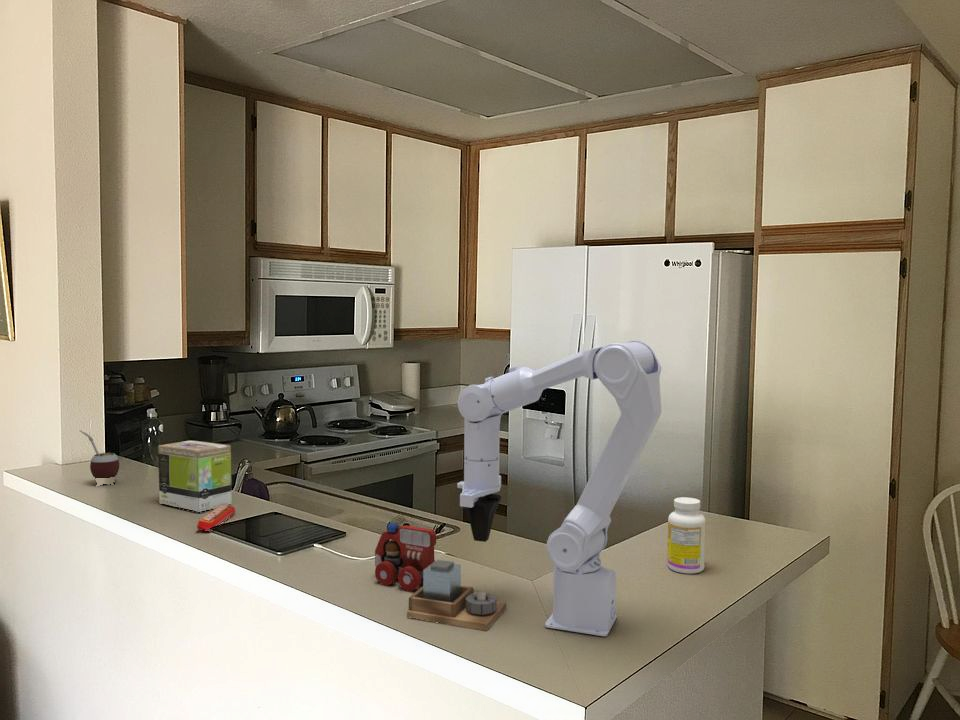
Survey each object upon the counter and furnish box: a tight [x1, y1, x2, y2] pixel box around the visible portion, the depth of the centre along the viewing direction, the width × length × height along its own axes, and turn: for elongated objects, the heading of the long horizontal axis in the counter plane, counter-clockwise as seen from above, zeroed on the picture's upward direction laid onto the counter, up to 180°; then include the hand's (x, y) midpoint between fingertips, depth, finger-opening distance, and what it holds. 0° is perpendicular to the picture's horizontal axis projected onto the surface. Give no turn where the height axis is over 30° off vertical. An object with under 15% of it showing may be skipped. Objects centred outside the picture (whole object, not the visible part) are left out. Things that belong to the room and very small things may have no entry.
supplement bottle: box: [667, 496, 706, 575], centre depth 143 cm, size 7×7×13 cm
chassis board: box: [406, 585, 507, 632], centre depth 122 cm, size 13×9×4 cm
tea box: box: [157, 440, 233, 511], centre depth 186 cm, size 15×10×15 cm, turn 58°
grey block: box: [422, 559, 462, 603], centre depth 123 cm, size 4×4×7 cm
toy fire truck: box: [374, 521, 437, 592], centre depth 136 cm, size 7×12×10 cm, turn 58°
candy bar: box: [196, 504, 236, 531], centre depth 172 cm, size 16×4×3 cm, turn 178°
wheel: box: [466, 592, 498, 615], centre depth 121 cm, size 5×5×2 cm
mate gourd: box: [79, 430, 120, 479], centre depth 207 cm, size 8×8×15 cm
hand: (481, 540), depth 127 cm, fingers closed
